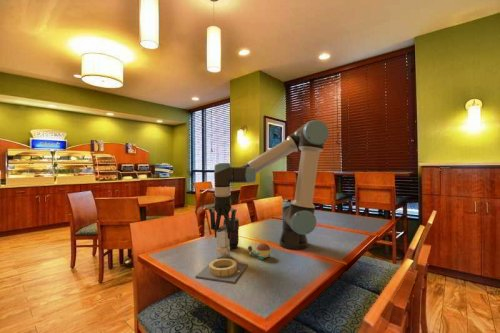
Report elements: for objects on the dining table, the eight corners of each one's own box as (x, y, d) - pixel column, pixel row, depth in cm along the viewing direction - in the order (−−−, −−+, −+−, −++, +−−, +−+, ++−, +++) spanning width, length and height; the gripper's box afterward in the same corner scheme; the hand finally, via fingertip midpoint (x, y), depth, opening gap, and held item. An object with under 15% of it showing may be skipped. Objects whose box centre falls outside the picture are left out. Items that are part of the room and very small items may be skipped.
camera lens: (236, 250, 119) (236, 221, 119) (221, 249, 120) (221, 220, 120) (240, 245, 127) (240, 217, 127) (226, 244, 128) (225, 217, 128)
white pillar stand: (232, 254, 114) (232, 224, 114) (225, 261, 106) (225, 229, 105) (220, 252, 116) (220, 223, 116) (212, 259, 107) (212, 228, 107)
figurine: (259, 254, 116) (257, 241, 117) (274, 256, 109) (272, 241, 110) (248, 259, 111) (246, 245, 112) (263, 261, 104) (260, 246, 105)
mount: (247, 265, 101) (247, 258, 101) (234, 283, 86) (234, 275, 86) (213, 261, 106) (213, 254, 106) (195, 277, 90) (195, 269, 90)
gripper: (242, 195, 112) (242, 244, 112) (209, 194, 117) (210, 241, 117) (236, 197, 105) (237, 249, 105) (202, 196, 110) (203, 246, 110)
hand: (223, 244), depth 111 cm, fingers closed on white pillar stand, 4 cm apart
